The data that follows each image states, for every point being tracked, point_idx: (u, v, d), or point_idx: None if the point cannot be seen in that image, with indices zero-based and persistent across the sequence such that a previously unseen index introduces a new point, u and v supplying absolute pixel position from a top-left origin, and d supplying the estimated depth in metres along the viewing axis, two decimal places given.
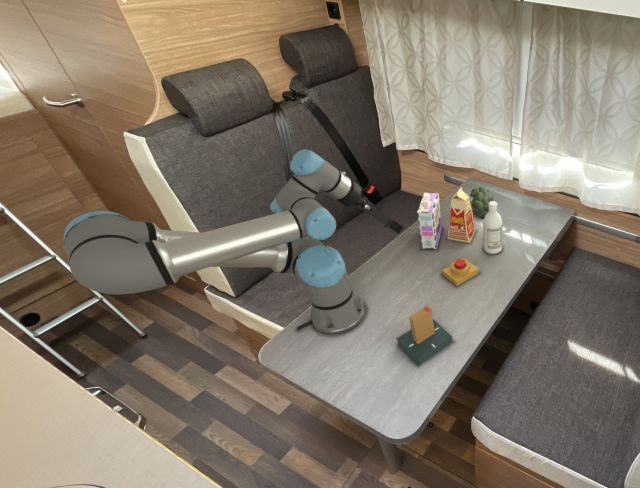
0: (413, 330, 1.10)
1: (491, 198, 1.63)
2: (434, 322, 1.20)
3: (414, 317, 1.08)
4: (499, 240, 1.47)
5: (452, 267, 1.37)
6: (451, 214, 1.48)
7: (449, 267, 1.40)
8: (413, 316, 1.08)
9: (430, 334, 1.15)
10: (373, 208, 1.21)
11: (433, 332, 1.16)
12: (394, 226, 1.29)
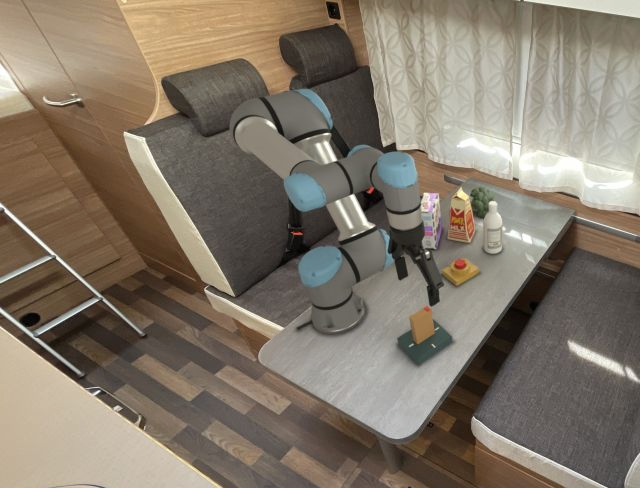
0: (413, 330, 1.10)
1: (491, 198, 1.63)
2: (434, 322, 1.20)
3: (414, 317, 1.08)
4: (499, 240, 1.47)
5: (452, 267, 1.37)
6: (451, 214, 1.48)
7: (449, 267, 1.40)
8: (413, 316, 1.08)
9: (430, 334, 1.15)
10: (431, 259, 0.92)
11: (433, 332, 1.16)
12: (436, 294, 0.97)
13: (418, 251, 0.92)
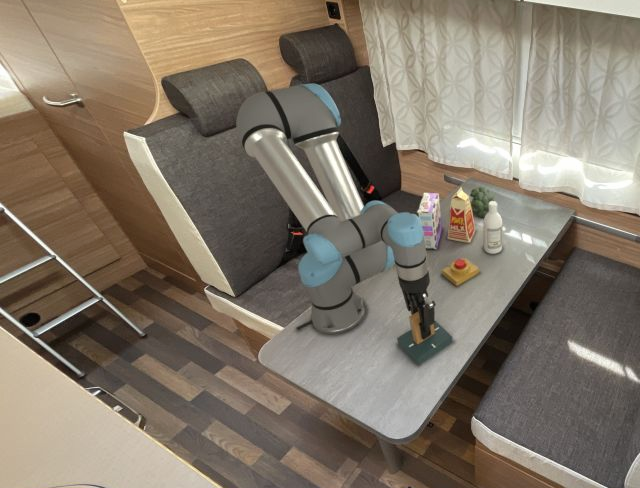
0: (413, 330, 1.10)
1: (491, 198, 1.63)
2: None
3: (414, 317, 1.08)
4: (499, 240, 1.47)
5: (452, 267, 1.37)
6: (451, 214, 1.48)
7: (449, 267, 1.40)
8: (413, 316, 1.08)
9: None
10: (432, 308, 1.02)
11: (433, 332, 1.16)
12: (427, 329, 1.10)
13: (423, 298, 1.00)
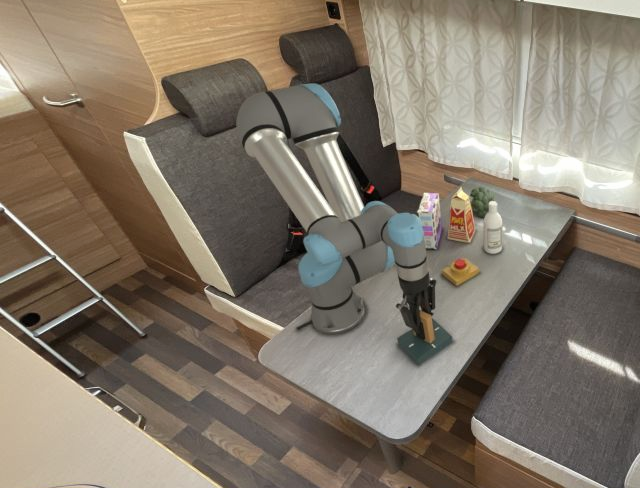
0: (431, 328, 1.11)
1: (491, 198, 1.63)
2: (434, 322, 1.20)
3: (426, 315, 1.08)
4: (499, 240, 1.47)
5: (452, 267, 1.37)
6: (451, 214, 1.48)
7: (449, 267, 1.40)
8: (425, 316, 1.08)
9: None
10: None
11: None
12: None
13: None
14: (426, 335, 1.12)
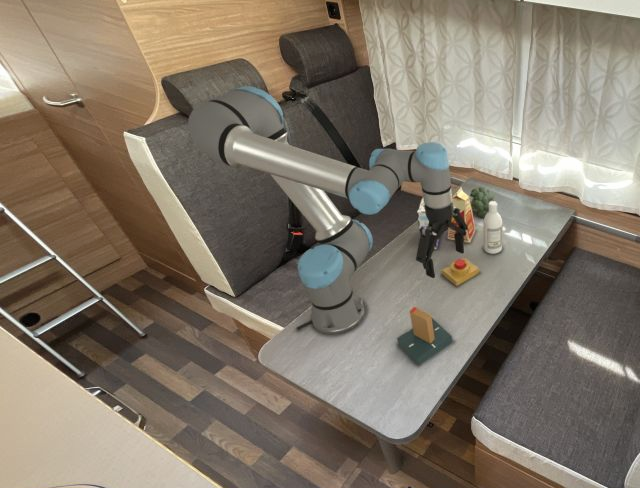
0: (431, 328, 1.11)
1: (491, 198, 1.63)
2: (434, 322, 1.20)
3: (426, 315, 1.08)
4: (499, 240, 1.47)
5: (452, 267, 1.37)
6: None
7: (449, 267, 1.40)
8: (425, 316, 1.08)
9: None
10: None
11: None
12: None
13: None
14: (426, 335, 1.12)
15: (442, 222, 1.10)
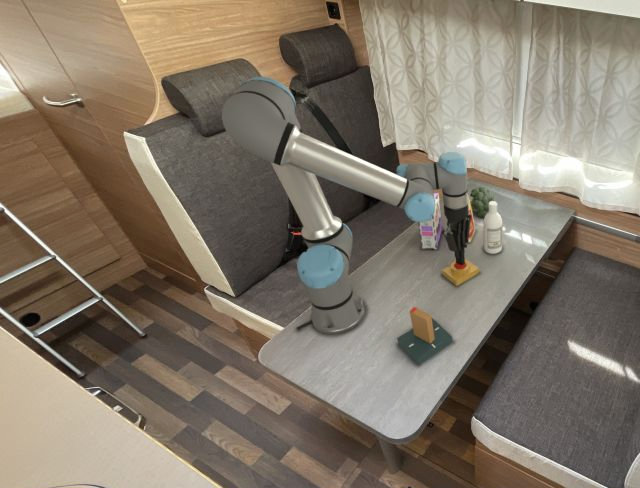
0: (431, 328, 1.11)
1: (491, 198, 1.63)
2: (434, 322, 1.20)
3: (426, 315, 1.08)
4: (499, 240, 1.47)
5: (452, 267, 1.37)
6: None
7: (449, 267, 1.40)
8: (425, 316, 1.08)
9: None
10: None
11: None
12: None
13: None
14: (426, 335, 1.12)
15: None
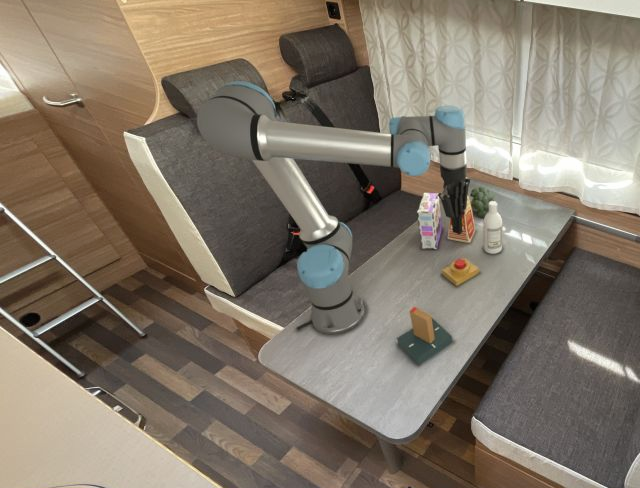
0: (431, 328, 1.11)
1: (491, 198, 1.63)
2: (434, 322, 1.20)
3: (426, 315, 1.08)
4: (499, 240, 1.47)
5: (452, 267, 1.37)
6: None
7: (449, 267, 1.40)
8: (425, 316, 1.08)
9: None
10: None
11: None
12: None
13: None
14: (426, 335, 1.12)
15: None
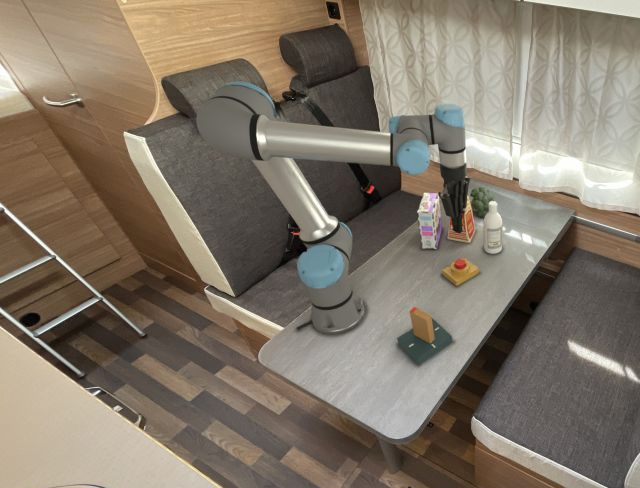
0: (431, 328, 1.11)
1: (491, 198, 1.63)
2: (434, 322, 1.20)
3: (426, 315, 1.08)
4: (499, 240, 1.47)
5: (452, 267, 1.37)
6: None
7: (449, 267, 1.40)
8: (425, 316, 1.08)
9: None
10: None
11: None
12: None
13: None
14: (426, 335, 1.12)
15: None
